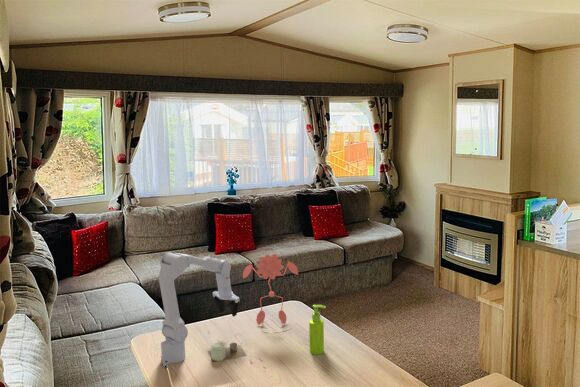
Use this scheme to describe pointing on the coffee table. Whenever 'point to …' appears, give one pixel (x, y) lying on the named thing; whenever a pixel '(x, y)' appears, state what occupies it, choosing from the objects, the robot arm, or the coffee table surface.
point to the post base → (231, 352)
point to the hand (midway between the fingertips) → (228, 313)
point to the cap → (218, 351)
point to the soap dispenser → (316, 331)
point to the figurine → (270, 269)
